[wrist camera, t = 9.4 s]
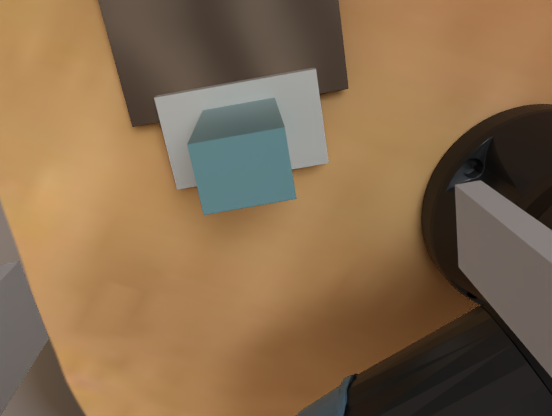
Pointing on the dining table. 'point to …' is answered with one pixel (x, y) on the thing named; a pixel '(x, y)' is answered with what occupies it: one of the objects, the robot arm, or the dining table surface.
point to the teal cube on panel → (244, 138)
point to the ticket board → (219, 45)
